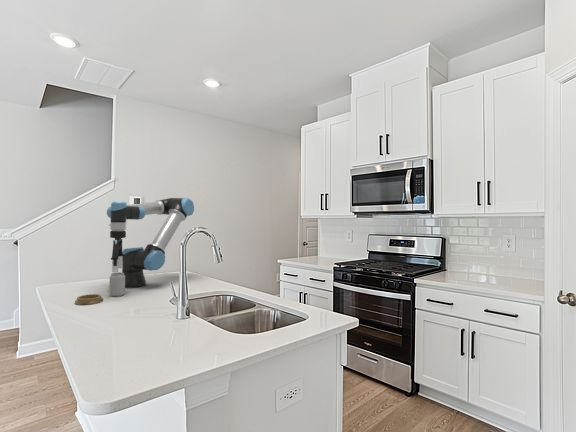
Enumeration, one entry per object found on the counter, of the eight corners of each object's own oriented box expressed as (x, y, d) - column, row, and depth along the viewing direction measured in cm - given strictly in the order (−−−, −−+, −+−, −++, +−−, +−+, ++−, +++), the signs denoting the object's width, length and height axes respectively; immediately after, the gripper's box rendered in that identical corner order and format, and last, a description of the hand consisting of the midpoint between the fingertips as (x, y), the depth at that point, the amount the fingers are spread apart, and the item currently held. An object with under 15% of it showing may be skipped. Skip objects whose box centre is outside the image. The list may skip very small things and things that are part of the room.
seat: (105, 298, 174) (105, 293, 174) (100, 304, 163) (100, 298, 163) (78, 299, 170) (78, 294, 170) (71, 305, 159) (71, 300, 159)
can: (127, 294, 184) (128, 272, 184) (119, 297, 176) (120, 274, 176) (114, 293, 184) (115, 271, 184) (106, 296, 177) (106, 274, 177)
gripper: (114, 229, 191) (113, 266, 190) (106, 231, 167) (104, 274, 167) (128, 229, 193) (127, 266, 193) (122, 231, 169) (121, 273, 169)
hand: (117, 270), depth 180 cm, fingers open, 13 cm apart
